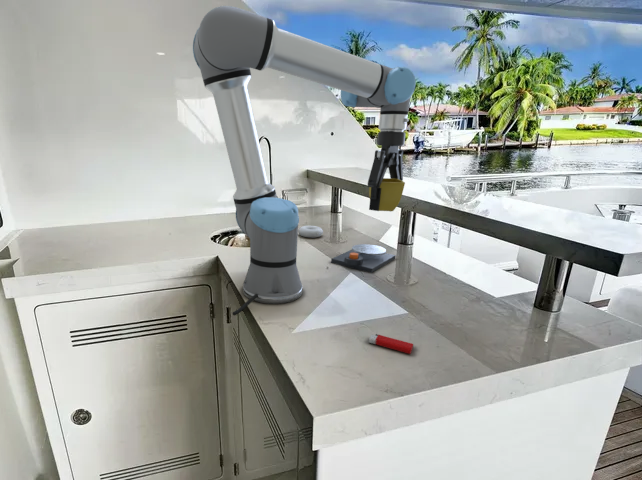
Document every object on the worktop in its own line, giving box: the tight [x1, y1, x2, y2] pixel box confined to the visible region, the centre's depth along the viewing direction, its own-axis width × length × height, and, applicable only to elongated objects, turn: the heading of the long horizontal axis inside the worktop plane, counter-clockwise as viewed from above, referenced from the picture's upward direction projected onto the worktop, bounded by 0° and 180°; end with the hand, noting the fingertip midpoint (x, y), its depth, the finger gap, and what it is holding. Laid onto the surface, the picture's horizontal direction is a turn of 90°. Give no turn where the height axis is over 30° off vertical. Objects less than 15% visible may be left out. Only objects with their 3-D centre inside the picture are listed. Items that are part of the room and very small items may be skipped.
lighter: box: [368, 333, 414, 355], centre depth 74 cm, size 3×1×8 cm
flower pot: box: [368, 177, 406, 212], centre depth 113 cm, size 9×9×9 cm
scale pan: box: [351, 243, 387, 255], centre depth 125 cm, size 11×11×1 cm
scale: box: [330, 249, 397, 274], centre depth 123 cm, size 19×14×3 cm
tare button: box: [349, 253, 358, 259], centre depth 118 cm, size 3×3×2 cm
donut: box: [298, 225, 324, 239], centre depth 153 cm, size 10×4×10 cm
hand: (383, 207), depth 115 cm, fingers closed on flower pot, 11 cm apart
